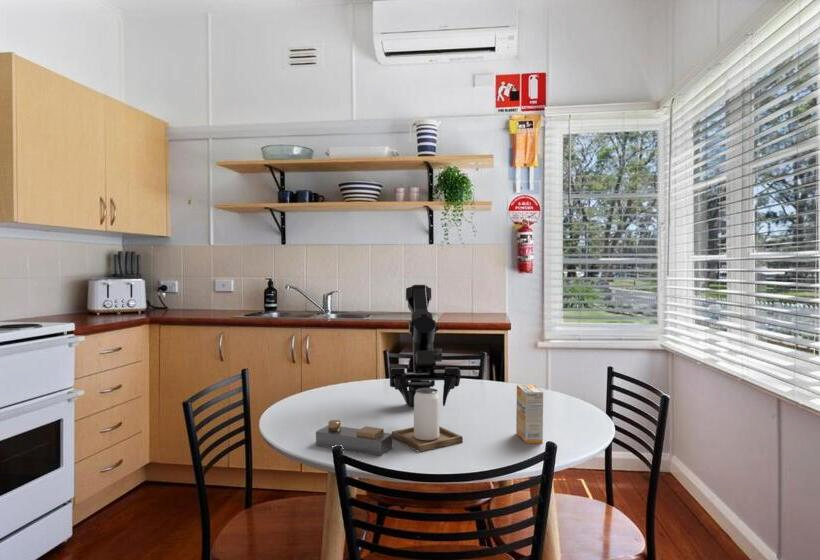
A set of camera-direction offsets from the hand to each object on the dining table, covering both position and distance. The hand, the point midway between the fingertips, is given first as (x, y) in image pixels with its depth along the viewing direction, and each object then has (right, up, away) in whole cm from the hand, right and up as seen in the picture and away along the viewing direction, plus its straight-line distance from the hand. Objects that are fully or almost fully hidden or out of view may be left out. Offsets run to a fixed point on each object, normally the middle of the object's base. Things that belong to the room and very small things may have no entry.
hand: (426, 405), depth 137 cm
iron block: (-18, -9, -7) cm, 21 cm away
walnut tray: (0, -8, -1) cm, 9 cm away
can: (0, -8, -1) cm, 8 cm away
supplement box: (+26, -9, 0) cm, 28 cm away
